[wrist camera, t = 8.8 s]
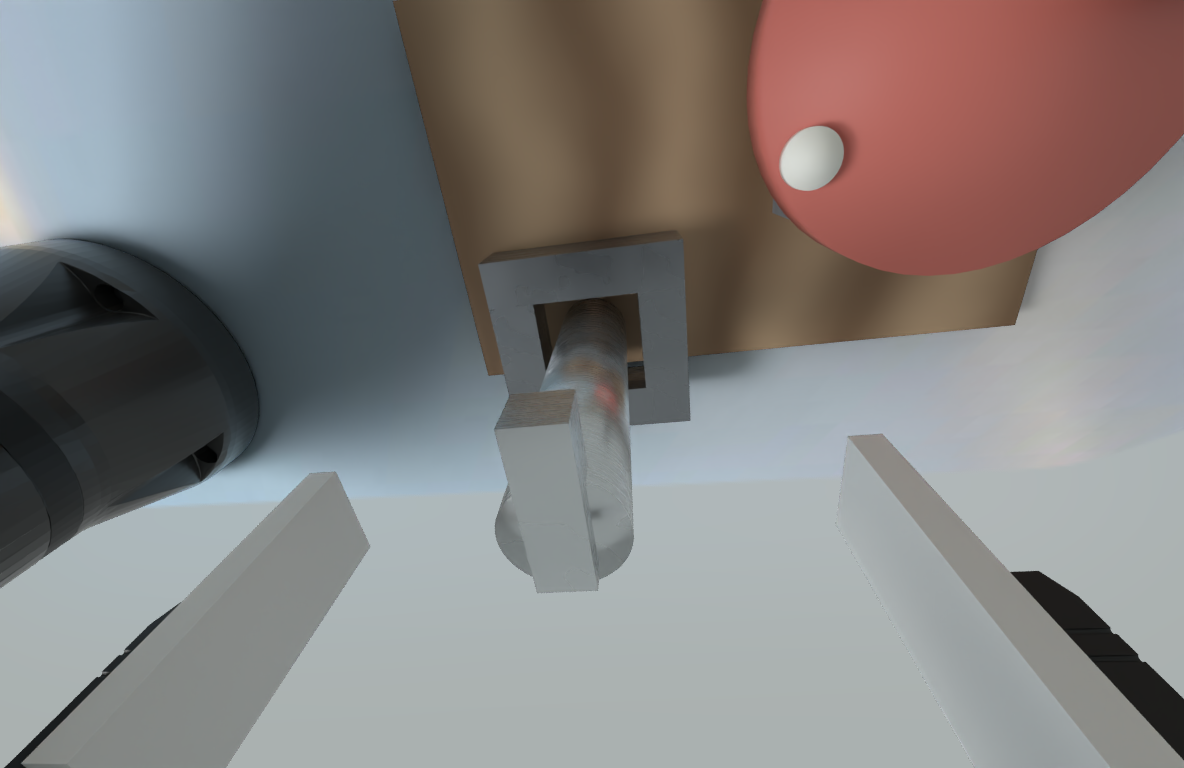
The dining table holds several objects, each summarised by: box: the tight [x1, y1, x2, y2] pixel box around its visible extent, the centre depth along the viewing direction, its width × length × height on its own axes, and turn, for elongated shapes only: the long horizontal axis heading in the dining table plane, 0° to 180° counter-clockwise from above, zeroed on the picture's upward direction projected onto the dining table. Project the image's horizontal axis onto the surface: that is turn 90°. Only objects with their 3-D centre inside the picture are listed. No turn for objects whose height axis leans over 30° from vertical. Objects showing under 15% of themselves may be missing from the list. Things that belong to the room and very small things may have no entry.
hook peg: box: [494, 298, 634, 593], centre depth 16 cm, size 3×5×15 cm, turn 8°
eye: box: [478, 230, 690, 425], centre depth 22 cm, size 9×9×2 cm
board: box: [393, 0, 1037, 376], centre depth 19 cm, size 26×16×4 cm, turn 97°
